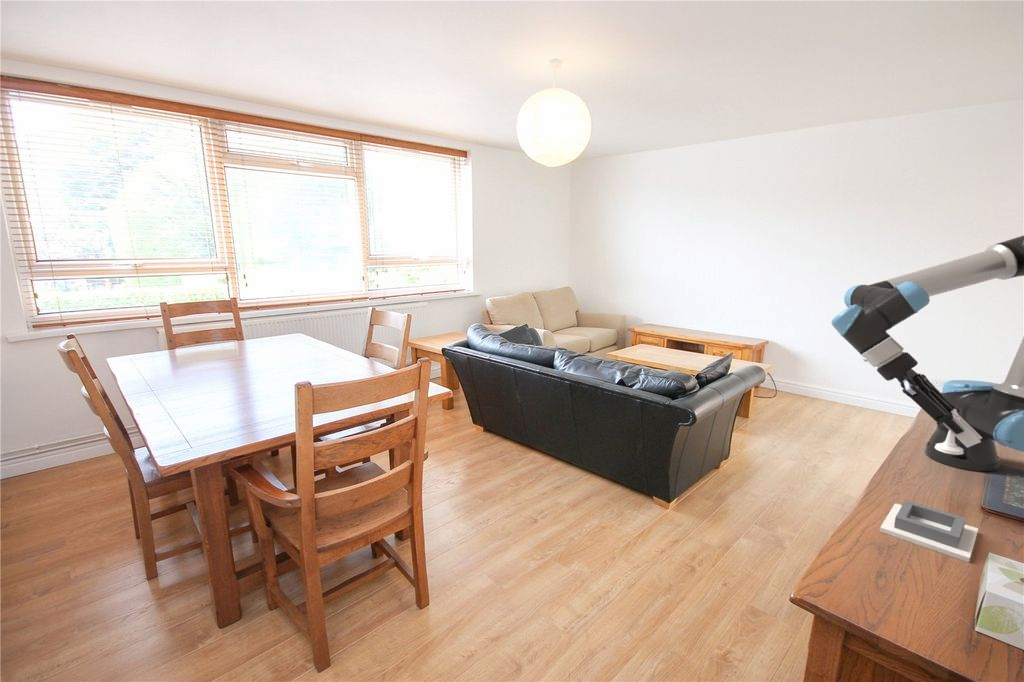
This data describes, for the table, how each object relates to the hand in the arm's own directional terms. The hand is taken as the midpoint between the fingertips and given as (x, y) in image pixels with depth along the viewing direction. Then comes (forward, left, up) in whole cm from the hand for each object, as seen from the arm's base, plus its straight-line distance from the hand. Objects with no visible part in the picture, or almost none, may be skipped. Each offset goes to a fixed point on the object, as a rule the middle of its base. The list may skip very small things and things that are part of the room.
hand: (974, 442), depth 103 cm
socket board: (+15, +7, -17) cm, 24 cm away
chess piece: (+2, -3, -3) cm, 5 cm away
